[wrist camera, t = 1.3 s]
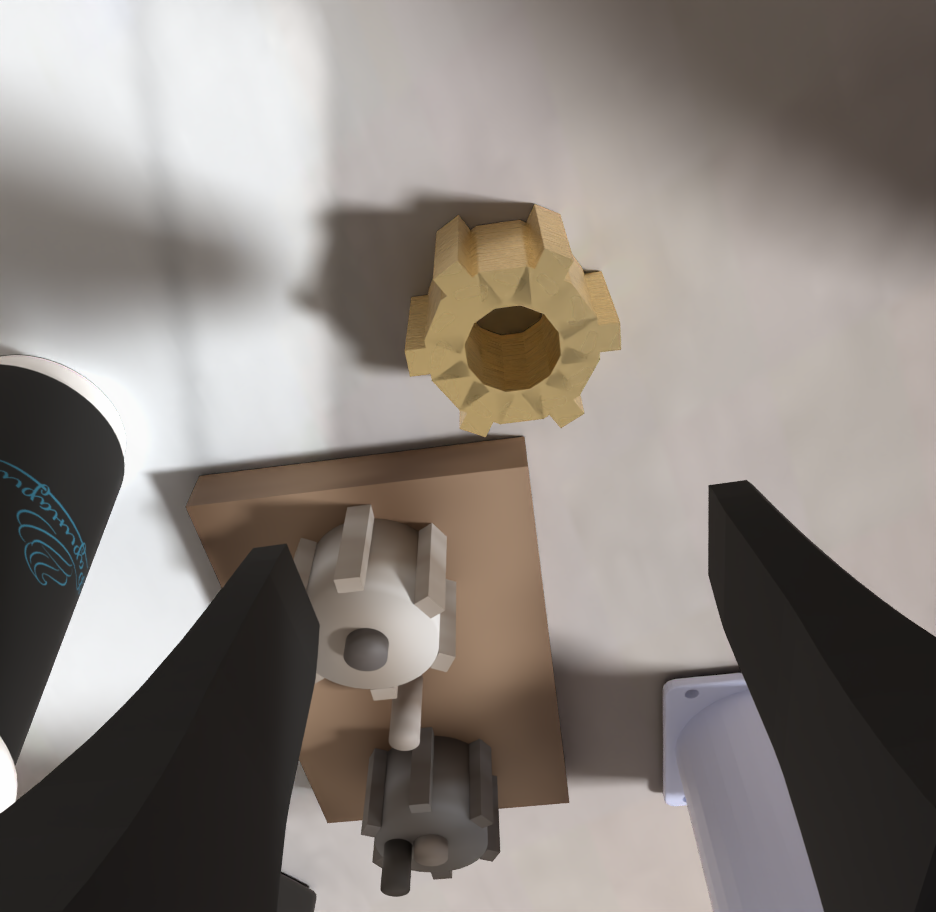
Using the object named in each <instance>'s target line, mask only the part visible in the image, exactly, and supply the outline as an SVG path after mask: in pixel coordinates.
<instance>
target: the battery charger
mask: <svg viewBox="0 0 936 912" xmlns="http://www.w3.org/2000/svg"><path fill="white" fill-rule="evenodd" d="M315 903H316V894H315V892H314V891H312V890H311V889H309V888H307V887H305V886H304V885H302V884H300V883H298V882H297V881H295V880H293V879H291V878H289V877H287V876H285V875H283V874H281V875H280V885H279V896H278V908H277V912H314V908H315Z"/></svg>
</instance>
